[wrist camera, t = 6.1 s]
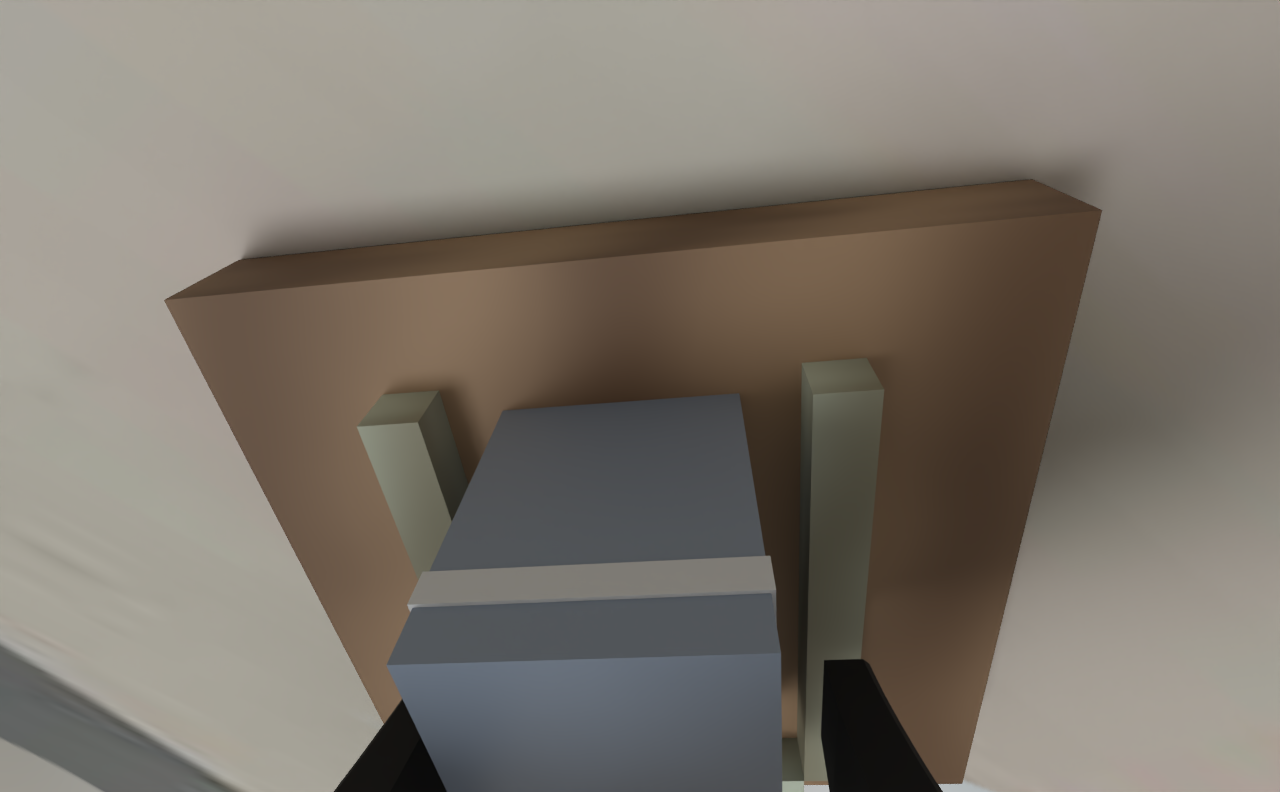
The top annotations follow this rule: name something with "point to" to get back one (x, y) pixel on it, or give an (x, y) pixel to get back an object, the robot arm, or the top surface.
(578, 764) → the blue-grey lidded box
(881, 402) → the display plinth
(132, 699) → the top surface
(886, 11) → the top surface
